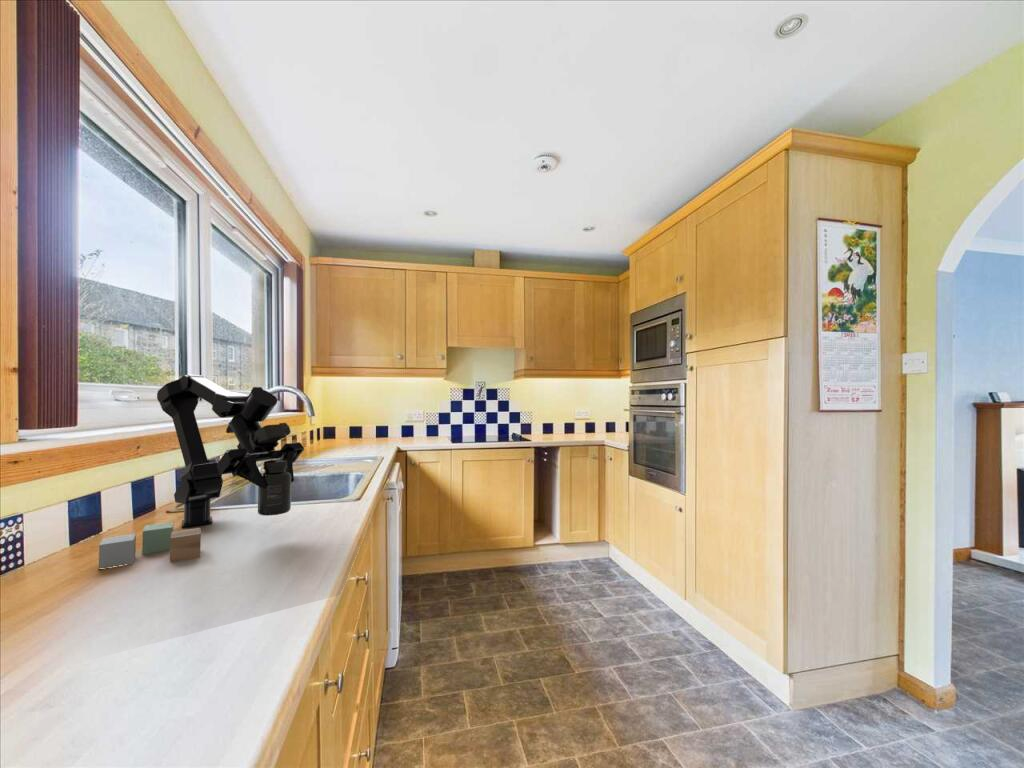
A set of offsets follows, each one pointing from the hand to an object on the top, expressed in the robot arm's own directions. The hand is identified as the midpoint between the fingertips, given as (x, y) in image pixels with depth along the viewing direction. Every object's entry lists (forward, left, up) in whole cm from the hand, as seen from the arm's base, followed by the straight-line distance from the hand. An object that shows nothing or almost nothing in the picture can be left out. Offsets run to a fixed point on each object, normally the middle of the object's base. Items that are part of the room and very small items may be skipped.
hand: (279, 484), depth 100 cm
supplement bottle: (-1, -1, -7) cm, 7 cm away
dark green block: (-10, -22, -13) cm, 28 cm away
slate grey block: (-4, -28, -13) cm, 31 cm away
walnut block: (-1, -17, -13) cm, 22 cm away
